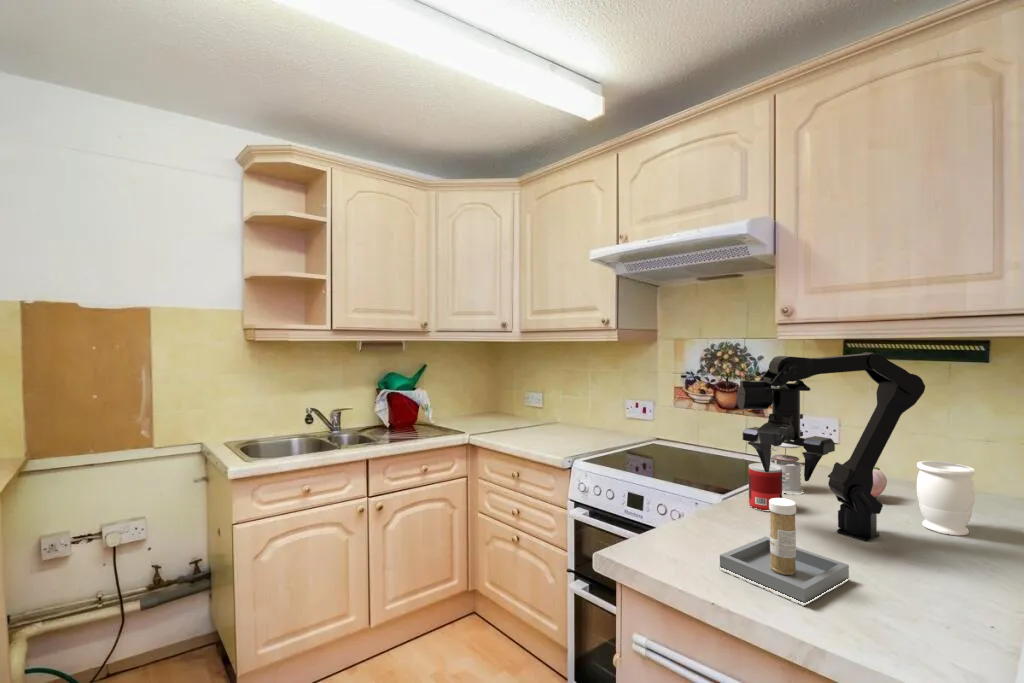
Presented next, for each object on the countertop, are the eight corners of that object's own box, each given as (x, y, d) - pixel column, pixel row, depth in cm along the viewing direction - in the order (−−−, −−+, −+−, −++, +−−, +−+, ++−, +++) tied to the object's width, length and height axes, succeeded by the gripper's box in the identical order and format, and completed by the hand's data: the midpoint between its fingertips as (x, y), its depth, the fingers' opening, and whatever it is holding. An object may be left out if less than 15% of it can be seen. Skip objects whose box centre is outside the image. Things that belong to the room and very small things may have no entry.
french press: (785, 496, 142) (784, 409, 142) (755, 484, 153) (754, 403, 153) (812, 493, 145) (812, 407, 145) (781, 482, 156) (781, 402, 156)
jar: (916, 518, 125) (916, 458, 124) (973, 527, 118) (972, 464, 118) (916, 530, 116) (916, 466, 116) (976, 542, 110) (976, 474, 110)
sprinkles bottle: (768, 564, 98) (767, 496, 98) (794, 567, 97) (793, 498, 97) (772, 574, 94) (771, 503, 94) (799, 578, 92) (798, 505, 92)
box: (848, 580, 93) (848, 564, 93) (804, 606, 84) (804, 589, 84) (765, 550, 106) (765, 536, 106) (719, 570, 98) (719, 554, 98)
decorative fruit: (857, 492, 145) (857, 458, 145) (890, 499, 139) (890, 463, 139) (843, 498, 140) (843, 462, 140) (877, 506, 133) (877, 468, 133)
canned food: (788, 512, 129) (787, 470, 129) (757, 512, 129) (756, 470, 129) (773, 502, 137) (773, 462, 137) (743, 502, 137) (743, 462, 137)
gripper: (728, 408, 120) (729, 472, 120) (810, 418, 104) (810, 492, 104) (755, 404, 126) (755, 466, 126) (835, 413, 110) (836, 483, 110)
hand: (786, 476), depth 116 cm, fingers open, 9 cm apart
